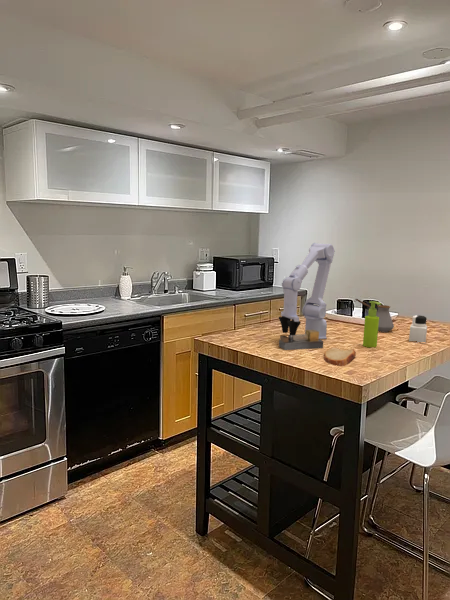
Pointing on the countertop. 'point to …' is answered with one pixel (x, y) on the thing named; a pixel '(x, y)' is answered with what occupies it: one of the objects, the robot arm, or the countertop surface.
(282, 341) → the grey piece
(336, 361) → the bread slice
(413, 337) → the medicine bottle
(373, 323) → the soap dispenser
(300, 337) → the steel lever
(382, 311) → the coffee pot
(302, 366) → the countertop surface
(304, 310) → the robot arm
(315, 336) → the brushed gold cube
